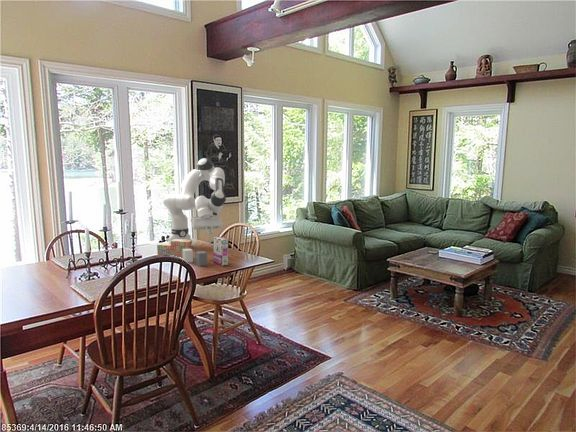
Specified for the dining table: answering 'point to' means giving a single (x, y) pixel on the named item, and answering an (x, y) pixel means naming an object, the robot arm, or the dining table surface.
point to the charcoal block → (201, 258)
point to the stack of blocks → (174, 247)
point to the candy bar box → (220, 251)
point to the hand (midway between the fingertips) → (210, 233)
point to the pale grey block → (187, 255)
